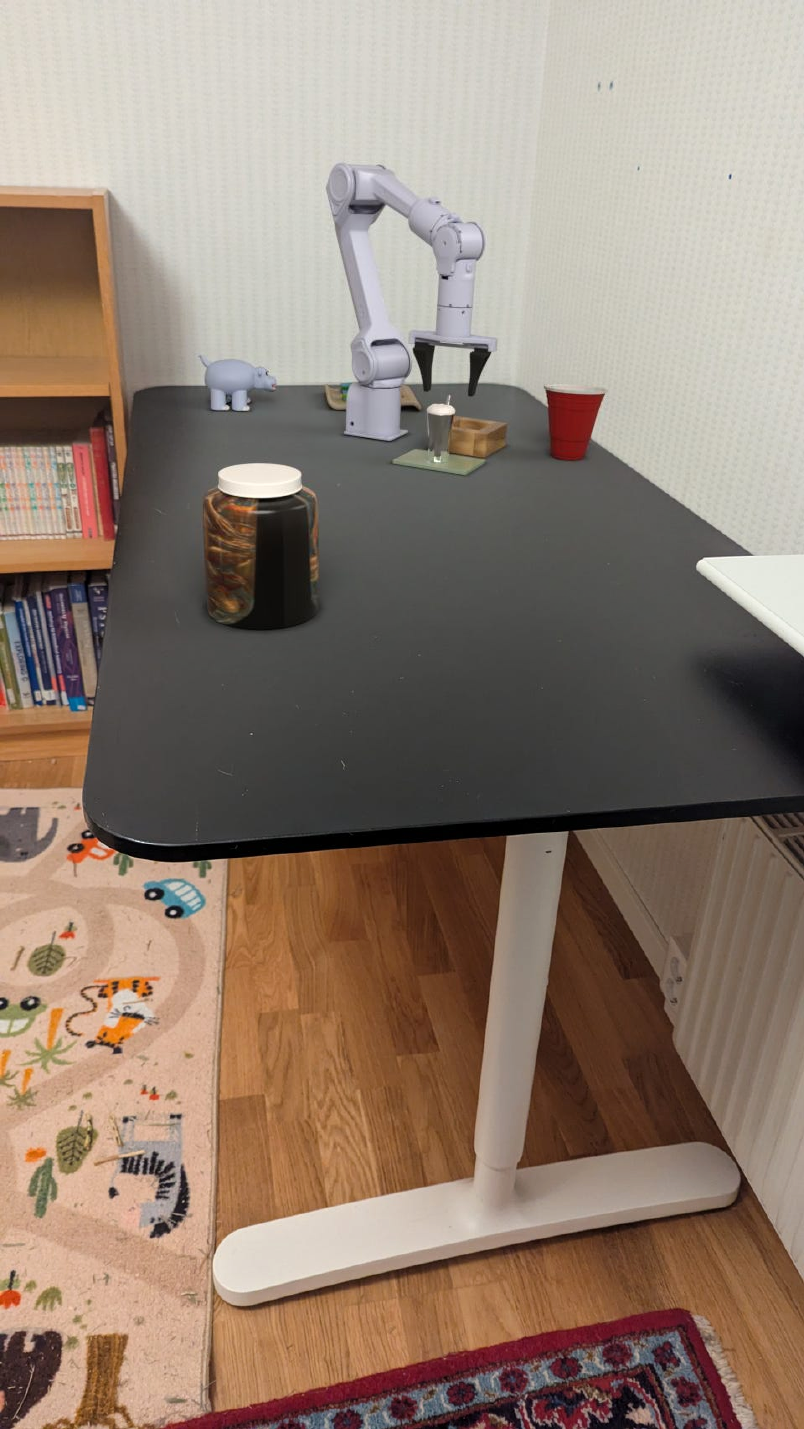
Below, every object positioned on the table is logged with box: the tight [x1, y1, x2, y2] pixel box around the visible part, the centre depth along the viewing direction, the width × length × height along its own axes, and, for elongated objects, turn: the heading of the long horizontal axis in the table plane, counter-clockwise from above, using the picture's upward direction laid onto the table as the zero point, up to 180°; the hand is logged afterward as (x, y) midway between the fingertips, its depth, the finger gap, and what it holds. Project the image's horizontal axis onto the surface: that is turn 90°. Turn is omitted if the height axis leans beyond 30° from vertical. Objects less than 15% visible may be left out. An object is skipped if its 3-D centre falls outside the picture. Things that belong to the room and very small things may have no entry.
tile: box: [392, 448, 486, 476], centre depth 169 cm, size 13×9×1 cm
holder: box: [449, 415, 508, 459], centre depth 178 cm, size 10×10×4 cm
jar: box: [202, 462, 320, 630], centre depth 107 cm, size 12×12×15 cm
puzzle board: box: [323, 381, 422, 411], centre depth 209 cm, size 18×19×4 cm
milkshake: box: [426, 394, 456, 463], centre depth 166 cm, size 4×5×10 cm
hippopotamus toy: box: [198, 354, 278, 412], centre depth 199 cm, size 11×15×10 cm
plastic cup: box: [543, 383, 609, 461], centre depth 174 cm, size 11×11×12 cm
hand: (449, 393), depth 169 cm, fingers open, 7 cm apart
